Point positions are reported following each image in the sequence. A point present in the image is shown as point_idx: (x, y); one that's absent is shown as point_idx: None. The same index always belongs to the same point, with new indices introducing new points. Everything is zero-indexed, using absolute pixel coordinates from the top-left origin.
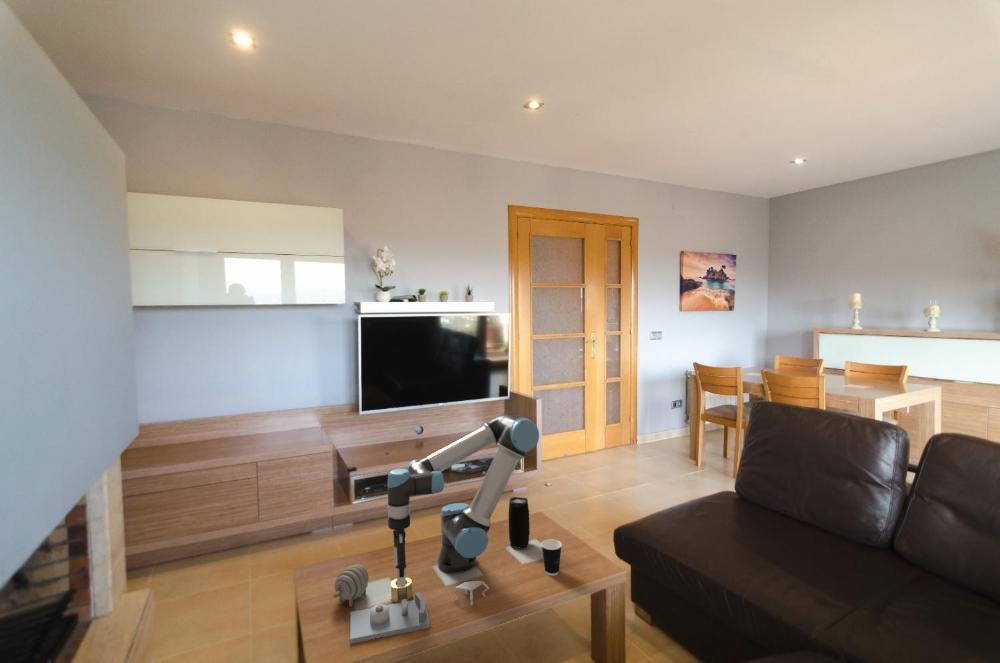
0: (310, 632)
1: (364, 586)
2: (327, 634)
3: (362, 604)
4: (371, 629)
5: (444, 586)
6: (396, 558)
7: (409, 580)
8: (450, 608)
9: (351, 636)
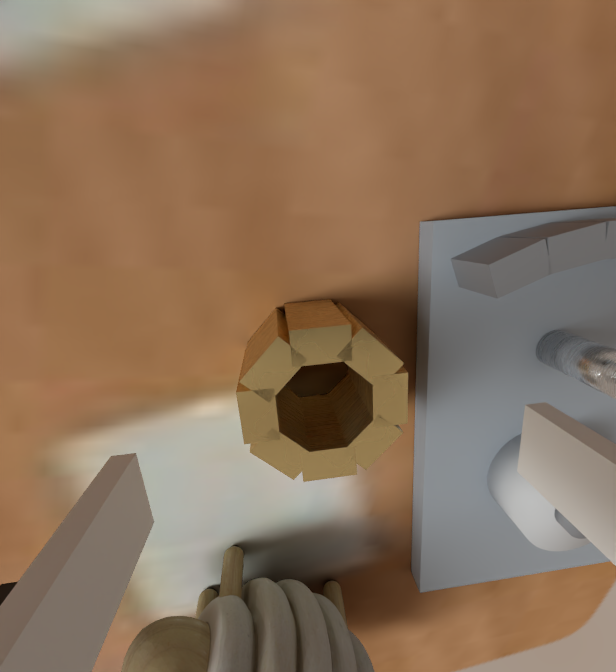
0: (459, 667)
1: (321, 626)
2: (495, 619)
3: (331, 542)
4: None
5: (249, 21)
6: (110, 588)
7: (308, 343)
8: (557, 21)
9: (596, 559)
